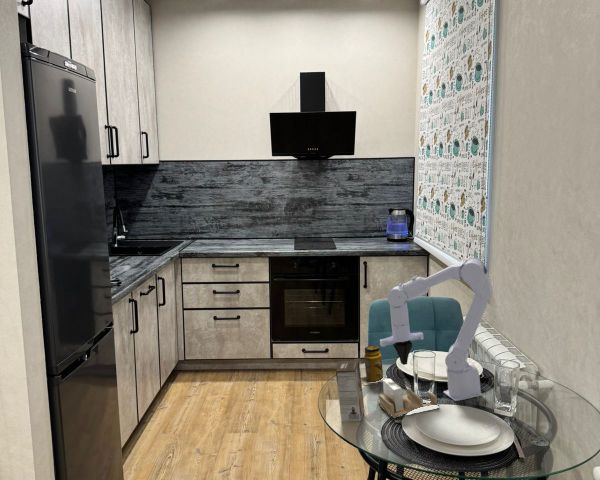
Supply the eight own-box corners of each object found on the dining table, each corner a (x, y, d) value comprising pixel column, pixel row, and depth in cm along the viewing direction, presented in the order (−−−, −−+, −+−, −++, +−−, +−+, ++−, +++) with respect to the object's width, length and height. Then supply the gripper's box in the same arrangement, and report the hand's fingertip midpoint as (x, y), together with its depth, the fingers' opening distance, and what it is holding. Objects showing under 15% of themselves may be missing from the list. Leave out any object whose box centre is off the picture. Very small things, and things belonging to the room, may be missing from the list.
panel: (391, 399, 177) (389, 378, 177) (403, 410, 169) (401, 388, 168) (384, 401, 177) (382, 379, 176) (396, 412, 168) (393, 389, 167)
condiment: (387, 381, 196) (384, 348, 195) (364, 385, 194) (361, 352, 193) (380, 374, 203) (377, 342, 202) (358, 378, 201) (354, 346, 200)
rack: (422, 394, 181) (421, 383, 181) (439, 408, 170) (438, 397, 169) (378, 403, 178) (377, 392, 178) (393, 418, 166) (391, 406, 166)
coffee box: (344, 409, 177) (339, 360, 175) (364, 408, 176) (359, 359, 174) (340, 422, 168) (335, 370, 166) (362, 421, 167) (356, 370, 165)
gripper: (415, 317, 187) (419, 356, 189) (374, 324, 184) (378, 364, 186) (424, 321, 180) (428, 362, 182) (382, 329, 177) (387, 370, 179)
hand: (404, 363), depth 183 cm, fingers closed
